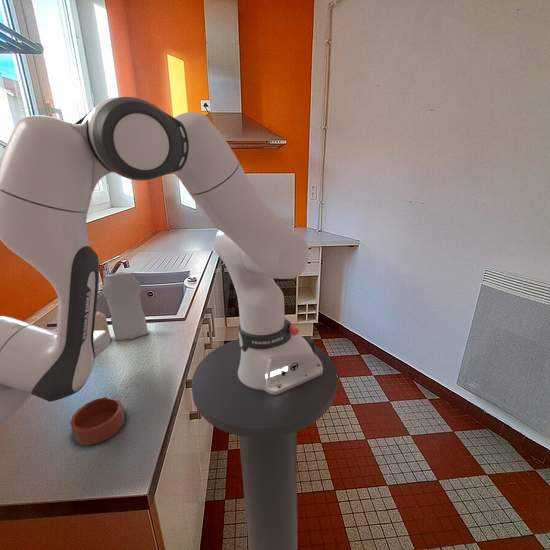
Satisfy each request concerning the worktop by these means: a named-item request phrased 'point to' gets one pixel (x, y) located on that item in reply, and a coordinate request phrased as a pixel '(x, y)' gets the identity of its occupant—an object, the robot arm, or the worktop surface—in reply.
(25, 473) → the worktop surface
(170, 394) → the worktop surface
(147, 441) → the worktop surface
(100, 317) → the candle
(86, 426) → the holder
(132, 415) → the worktop surface
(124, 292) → the grey tall flat block
